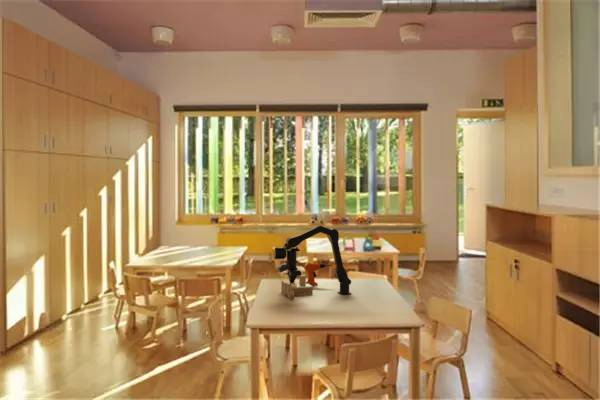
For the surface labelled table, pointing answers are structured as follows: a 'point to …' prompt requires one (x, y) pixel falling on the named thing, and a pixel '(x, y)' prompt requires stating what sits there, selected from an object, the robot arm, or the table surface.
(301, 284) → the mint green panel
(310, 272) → the toy drill
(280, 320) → the table surface
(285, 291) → the tan wooden t-shaped piece
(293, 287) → the tan rectangular block
